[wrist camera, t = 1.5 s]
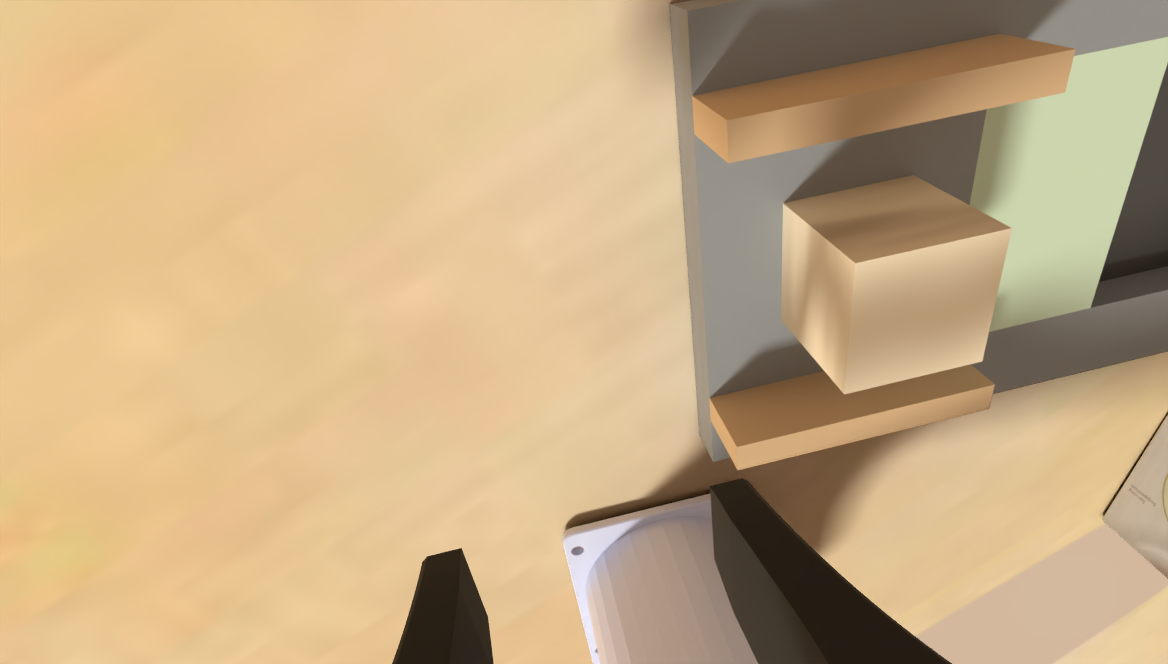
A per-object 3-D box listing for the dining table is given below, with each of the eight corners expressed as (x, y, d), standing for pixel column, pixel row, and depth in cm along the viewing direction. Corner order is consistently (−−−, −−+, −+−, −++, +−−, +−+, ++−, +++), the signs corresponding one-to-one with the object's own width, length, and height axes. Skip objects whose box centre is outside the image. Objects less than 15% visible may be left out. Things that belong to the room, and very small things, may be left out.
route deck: (1176, 320, 27) (1281, 377, 23) (699, 435, 25) (738, 513, 22) (1357, -128, 19) (1558, -139, 15) (669, 4, 17) (724, 24, 14)
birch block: (898, 293, 22) (982, 361, 18) (781, 319, 21) (844, 394, 18) (913, 175, 19) (1012, 227, 16) (782, 203, 19) (855, 263, 16)
